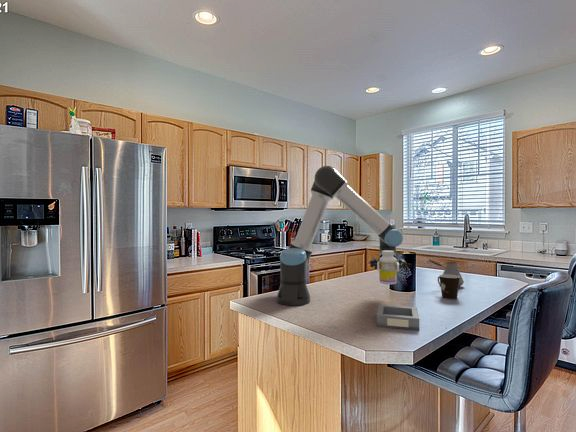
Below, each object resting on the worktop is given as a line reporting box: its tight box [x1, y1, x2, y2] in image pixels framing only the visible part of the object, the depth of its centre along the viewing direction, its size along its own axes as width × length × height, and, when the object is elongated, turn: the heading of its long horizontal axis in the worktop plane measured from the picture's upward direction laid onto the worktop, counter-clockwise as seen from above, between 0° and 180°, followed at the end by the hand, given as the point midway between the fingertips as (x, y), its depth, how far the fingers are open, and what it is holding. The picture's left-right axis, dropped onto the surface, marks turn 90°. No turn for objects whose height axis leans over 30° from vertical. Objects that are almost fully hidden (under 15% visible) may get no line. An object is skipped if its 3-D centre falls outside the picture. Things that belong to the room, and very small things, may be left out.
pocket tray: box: [376, 304, 420, 331], centre depth 123 cm, size 14×14×4 cm
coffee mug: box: [437, 274, 460, 300], centre depth 159 cm, size 12×9×10 cm
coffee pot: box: [427, 259, 465, 288], centre depth 179 cm, size 21×12×15 cm, turn 109°
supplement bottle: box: [378, 250, 398, 286], centre depth 134 cm, size 7×7×13 cm
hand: (388, 267), depth 129 cm, fingers closed on supplement bottle, 7 cm apart
